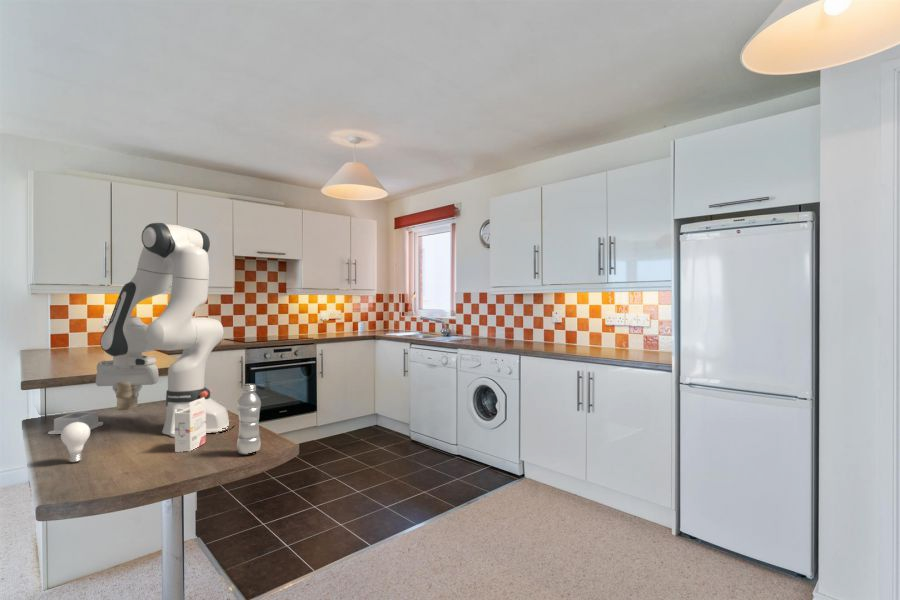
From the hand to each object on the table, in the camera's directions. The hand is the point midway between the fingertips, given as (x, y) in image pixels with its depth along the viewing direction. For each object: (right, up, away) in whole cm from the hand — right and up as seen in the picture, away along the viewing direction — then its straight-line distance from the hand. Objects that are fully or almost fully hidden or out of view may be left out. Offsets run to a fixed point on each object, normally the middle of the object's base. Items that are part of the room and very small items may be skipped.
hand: (127, 397), depth 170 cm
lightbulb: (+17, -9, -45) cm, 49 cm away
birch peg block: (0, -4, 0) cm, 4 cm away
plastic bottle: (+62, -9, -37) cm, 73 cm away
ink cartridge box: (+42, -9, -32) cm, 54 cm away
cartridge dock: (-10, -9, -12) cm, 17 cm away
